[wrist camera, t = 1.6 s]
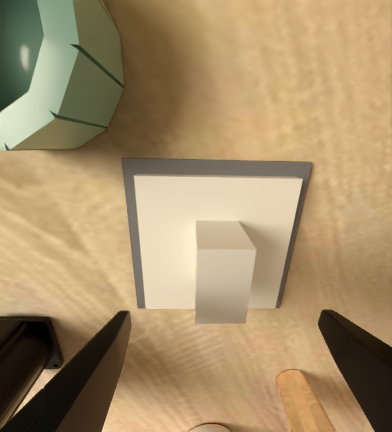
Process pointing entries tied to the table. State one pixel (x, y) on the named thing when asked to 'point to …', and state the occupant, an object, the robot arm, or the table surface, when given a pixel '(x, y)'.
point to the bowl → (57, 73)
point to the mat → (205, 168)
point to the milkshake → (302, 404)
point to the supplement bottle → (210, 428)
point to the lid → (214, 241)
